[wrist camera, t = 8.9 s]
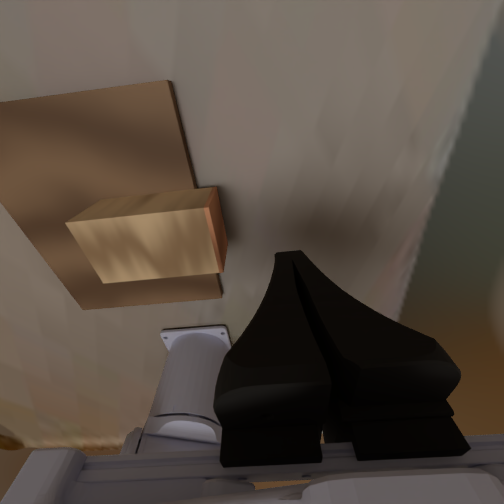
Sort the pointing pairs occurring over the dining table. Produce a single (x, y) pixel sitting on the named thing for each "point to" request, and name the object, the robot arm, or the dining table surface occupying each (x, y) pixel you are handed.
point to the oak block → (153, 235)
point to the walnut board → (95, 179)
